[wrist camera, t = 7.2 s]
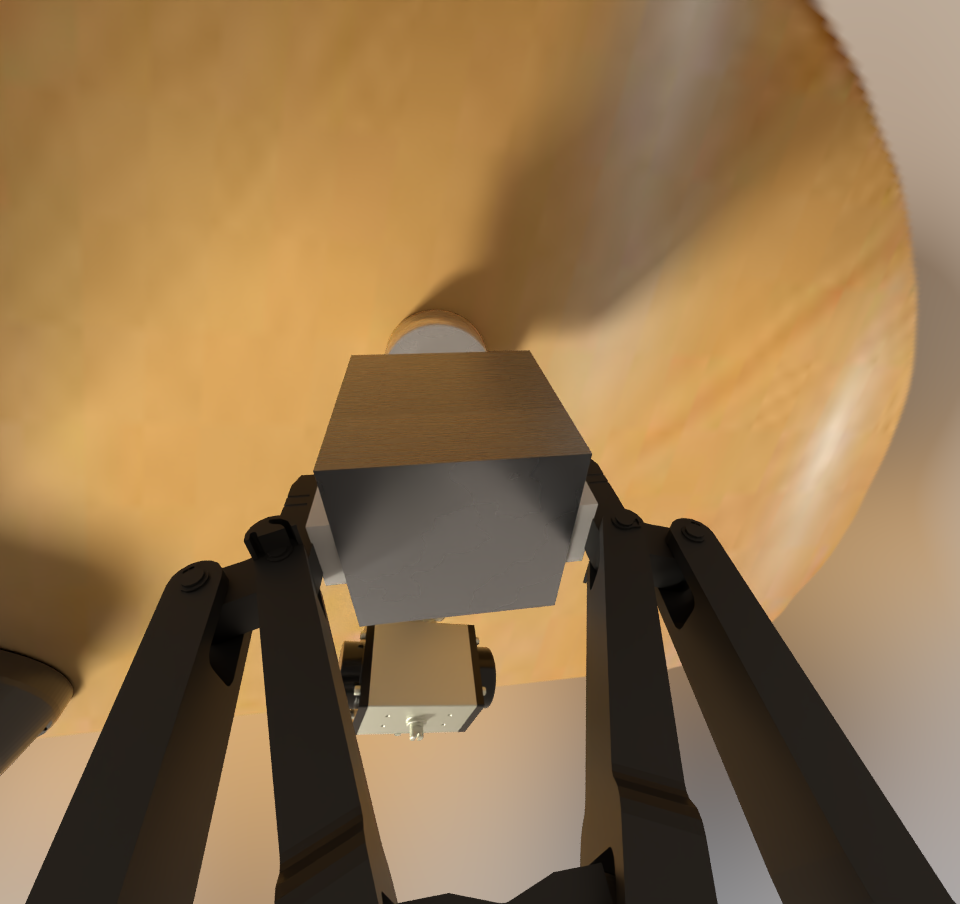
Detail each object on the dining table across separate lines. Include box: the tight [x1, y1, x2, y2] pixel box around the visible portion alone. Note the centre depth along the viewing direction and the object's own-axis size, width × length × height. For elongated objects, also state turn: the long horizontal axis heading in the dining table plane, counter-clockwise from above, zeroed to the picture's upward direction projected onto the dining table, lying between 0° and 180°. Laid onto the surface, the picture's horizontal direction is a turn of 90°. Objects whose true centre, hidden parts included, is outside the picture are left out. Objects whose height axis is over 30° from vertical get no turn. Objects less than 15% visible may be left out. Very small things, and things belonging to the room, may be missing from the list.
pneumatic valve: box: [338, 617, 496, 741], centre depth 32 cm, size 6×12×12 cm, turn 70°
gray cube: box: [313, 350, 592, 627], centre depth 15 cm, size 7×7×7 cm
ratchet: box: [386, 310, 487, 354], centre depth 25 cm, size 6×20×7 cm, turn 179°
